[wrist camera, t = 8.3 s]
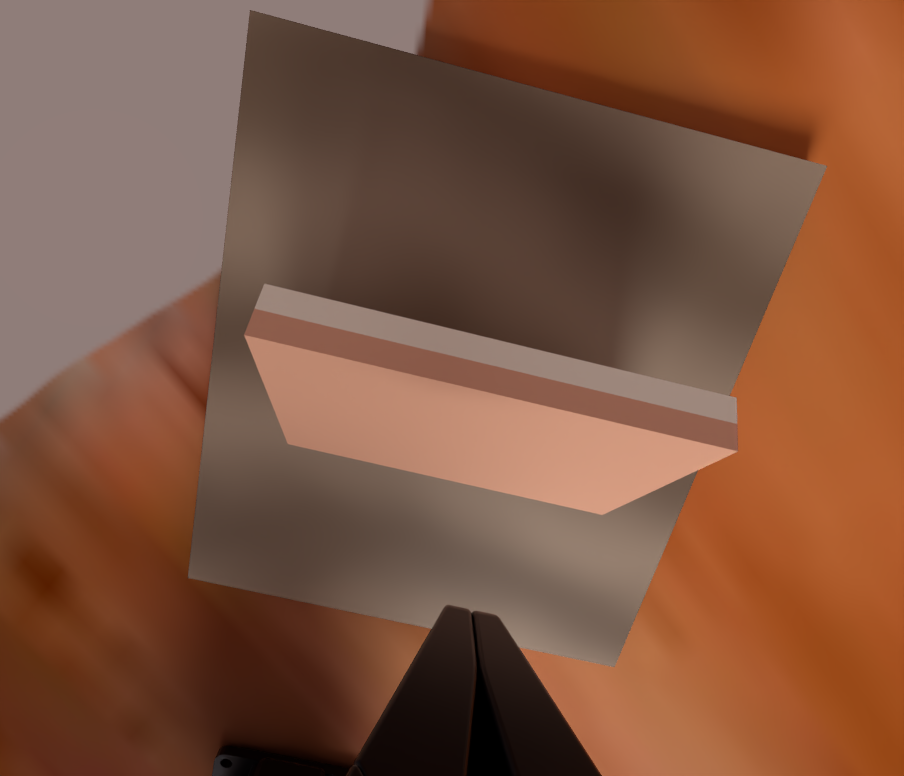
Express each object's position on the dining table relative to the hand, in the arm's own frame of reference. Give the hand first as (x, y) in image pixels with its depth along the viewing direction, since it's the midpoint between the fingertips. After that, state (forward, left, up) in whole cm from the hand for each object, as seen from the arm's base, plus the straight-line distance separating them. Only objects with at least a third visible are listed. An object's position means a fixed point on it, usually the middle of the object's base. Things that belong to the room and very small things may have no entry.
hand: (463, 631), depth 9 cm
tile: (0, 0, -6) cm, 6 cm away
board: (0, 0, -11) cm, 11 cm away
